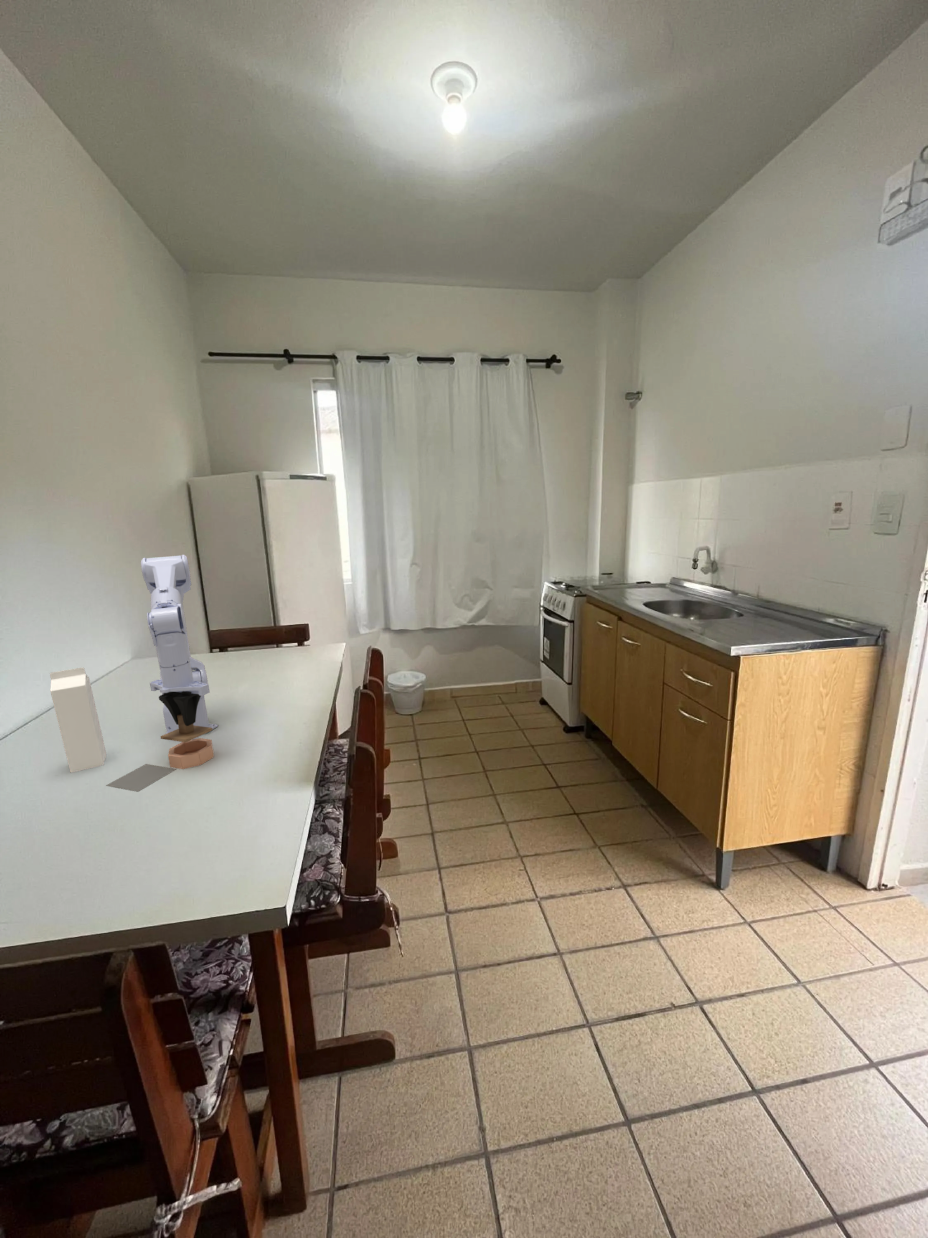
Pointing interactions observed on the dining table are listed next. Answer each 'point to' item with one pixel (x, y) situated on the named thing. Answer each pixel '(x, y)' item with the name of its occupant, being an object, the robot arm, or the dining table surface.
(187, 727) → the lid
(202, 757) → the octagonal copper pot
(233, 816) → the dining table surface
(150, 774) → the mat
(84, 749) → the milk
